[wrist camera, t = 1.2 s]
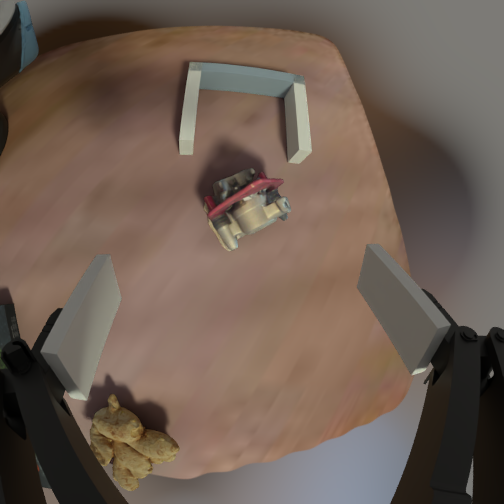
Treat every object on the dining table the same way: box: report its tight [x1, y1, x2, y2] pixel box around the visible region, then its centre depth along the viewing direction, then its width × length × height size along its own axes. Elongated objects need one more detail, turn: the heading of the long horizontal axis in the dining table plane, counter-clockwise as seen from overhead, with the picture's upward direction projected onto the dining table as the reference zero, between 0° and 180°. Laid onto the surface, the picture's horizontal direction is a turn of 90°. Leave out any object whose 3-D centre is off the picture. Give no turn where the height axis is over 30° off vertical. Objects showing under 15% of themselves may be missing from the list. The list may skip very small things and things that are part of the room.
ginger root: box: [90, 394, 180, 491], centre depth 32 cm, size 16×16×8 cm
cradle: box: [179, 62, 312, 164], centre depth 41 cm, size 15×19×5 cm
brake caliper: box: [204, 168, 291, 251], centre depth 38 cm, size 11×11×12 cm
